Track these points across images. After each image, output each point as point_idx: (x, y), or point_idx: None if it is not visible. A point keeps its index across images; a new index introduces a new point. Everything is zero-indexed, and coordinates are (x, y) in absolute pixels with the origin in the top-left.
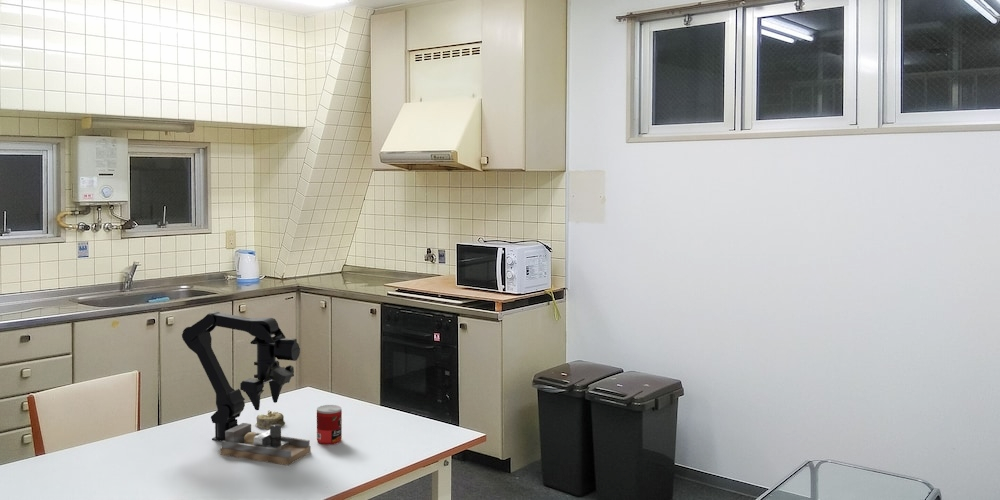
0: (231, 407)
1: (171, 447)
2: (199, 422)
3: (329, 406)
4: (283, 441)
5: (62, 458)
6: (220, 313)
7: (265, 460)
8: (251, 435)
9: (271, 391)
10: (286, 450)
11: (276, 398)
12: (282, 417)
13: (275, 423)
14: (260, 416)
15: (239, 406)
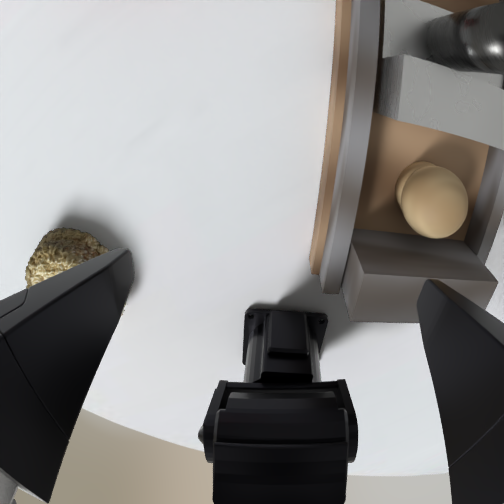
0: (348, 436)
1: (386, 404)
2: (184, 430)
3: None
4: (393, 19)
5: (434, 462)
6: None
7: None
8: (465, 196)
9: (87, 379)
10: None
11: (109, 270)
12: (43, 247)
13: (84, 250)
14: None
15: (280, 422)
